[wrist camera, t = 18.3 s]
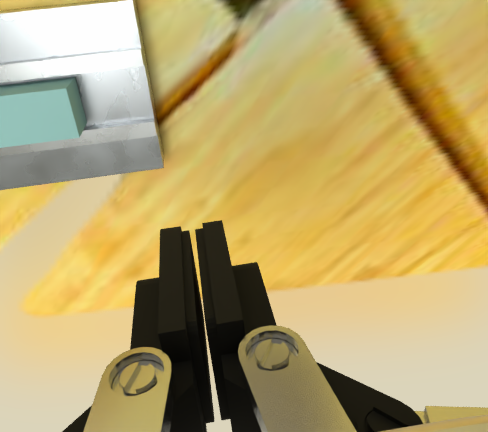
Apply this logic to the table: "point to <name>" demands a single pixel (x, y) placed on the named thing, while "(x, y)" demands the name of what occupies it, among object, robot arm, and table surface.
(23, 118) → the lock bar
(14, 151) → the socket plate
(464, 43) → the table surface
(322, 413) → the robot arm
